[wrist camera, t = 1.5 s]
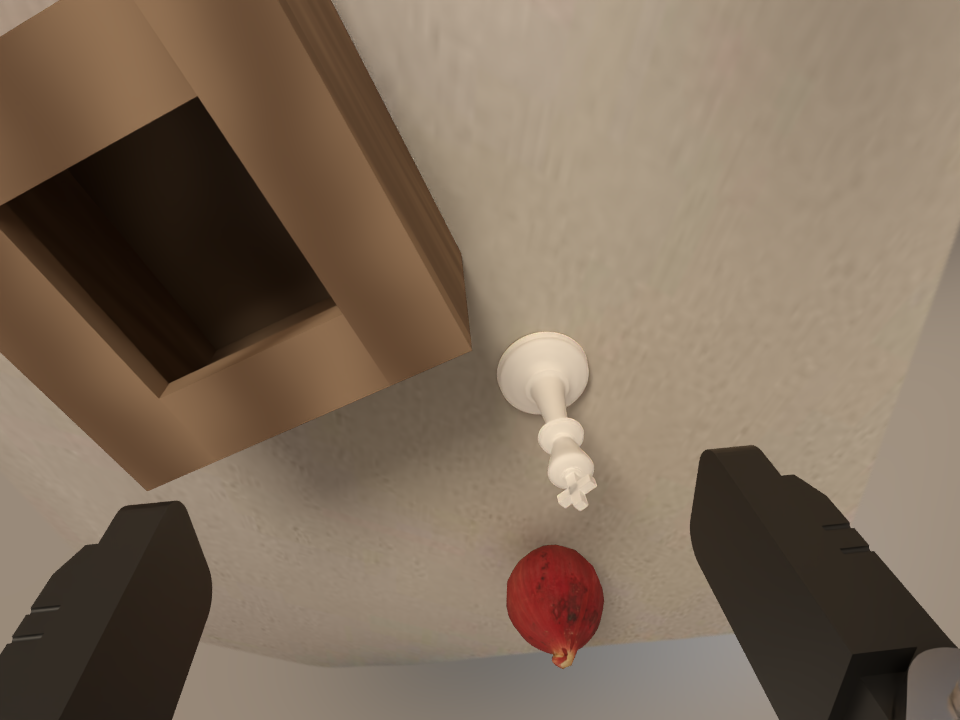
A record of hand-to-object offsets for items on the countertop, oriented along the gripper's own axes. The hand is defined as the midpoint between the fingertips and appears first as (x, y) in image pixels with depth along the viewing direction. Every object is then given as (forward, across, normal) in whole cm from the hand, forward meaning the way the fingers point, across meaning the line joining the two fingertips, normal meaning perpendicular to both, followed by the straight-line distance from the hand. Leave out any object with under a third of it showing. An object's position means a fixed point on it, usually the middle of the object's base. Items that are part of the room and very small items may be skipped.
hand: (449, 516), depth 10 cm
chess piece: (+21, -5, +10) cm, 24 cm away
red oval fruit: (+22, -5, +24) cm, 33 cm away
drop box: (+21, +8, -1) cm, 22 cm away
